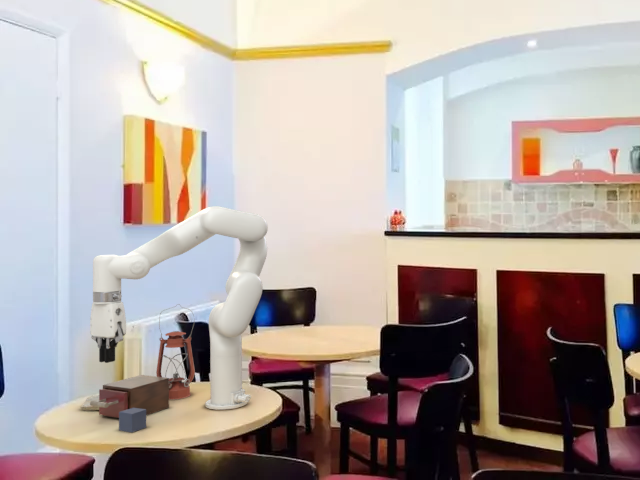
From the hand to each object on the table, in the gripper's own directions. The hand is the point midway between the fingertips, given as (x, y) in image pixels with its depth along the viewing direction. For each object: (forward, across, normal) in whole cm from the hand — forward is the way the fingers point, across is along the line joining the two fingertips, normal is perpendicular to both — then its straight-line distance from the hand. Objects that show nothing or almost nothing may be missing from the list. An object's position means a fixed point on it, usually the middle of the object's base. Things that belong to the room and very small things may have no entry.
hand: (107, 361), depth 198 cm
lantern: (+17, +3, -30) cm, 34 cm away
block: (+17, -13, +2) cm, 22 cm away
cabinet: (+17, 0, -10) cm, 20 cm away
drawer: (+16, 0, -6) cm, 17 cm away
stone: (+17, +15, -12) cm, 26 cm away
